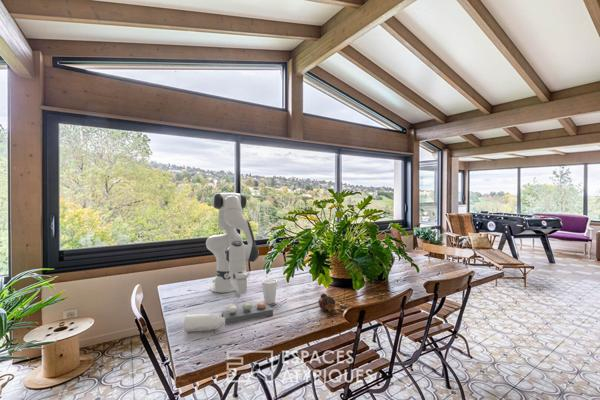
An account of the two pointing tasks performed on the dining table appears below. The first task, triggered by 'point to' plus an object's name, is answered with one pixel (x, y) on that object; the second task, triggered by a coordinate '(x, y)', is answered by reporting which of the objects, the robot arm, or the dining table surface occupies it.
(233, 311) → the white round dome
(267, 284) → the foam cup
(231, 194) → the robot arm
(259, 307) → the orange rounded lump
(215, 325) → the white plastic bottle
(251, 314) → the console
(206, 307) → the dining table surface
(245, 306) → the sage button
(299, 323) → the dining table surface
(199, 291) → the dining table surface
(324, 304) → the decorative turtle
